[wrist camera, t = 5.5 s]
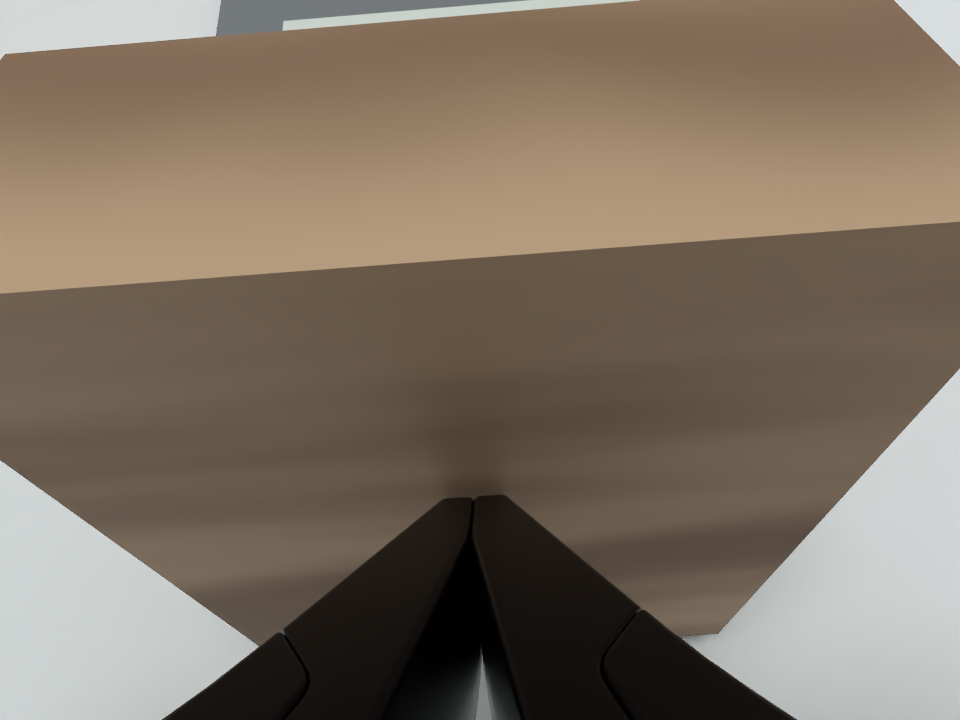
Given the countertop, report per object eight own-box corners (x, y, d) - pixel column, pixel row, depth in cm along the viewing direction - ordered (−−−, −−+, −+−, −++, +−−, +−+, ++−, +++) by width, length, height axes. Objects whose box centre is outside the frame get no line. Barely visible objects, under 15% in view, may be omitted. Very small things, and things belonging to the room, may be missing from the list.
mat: (827, 444, 17) (834, 440, 16) (157, 489, 17) (148, 486, 17) (688, -58, 24) (691, -70, 24) (229, -18, 25) (224, -29, 24)
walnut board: (717, 633, 14) (1103, 211, 5) (278, 659, 14) (-211, 309, 5) (676, 473, 17) (874, -20, 7) (301, 498, 17) (4, 54, 7)
